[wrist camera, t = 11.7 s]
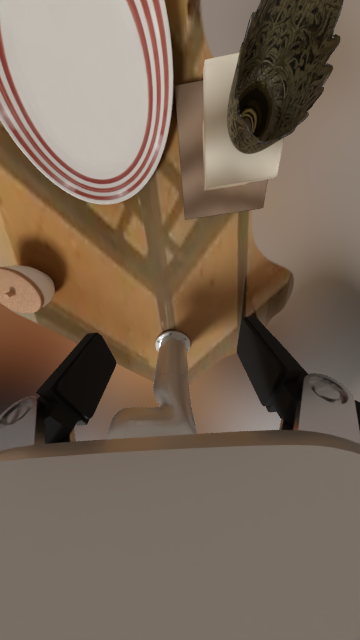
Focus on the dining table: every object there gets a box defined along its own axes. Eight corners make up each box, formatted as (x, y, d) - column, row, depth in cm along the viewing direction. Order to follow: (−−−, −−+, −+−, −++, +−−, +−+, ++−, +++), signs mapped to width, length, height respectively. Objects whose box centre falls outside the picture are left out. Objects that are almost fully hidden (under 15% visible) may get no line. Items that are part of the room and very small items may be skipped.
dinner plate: (114, 237, 32) (108, 238, 29) (-44, 84, 21) (-78, 61, 18) (209, 101, 22) (214, 83, 19) (3, -335, 11) (-57, -529, 8)
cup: (208, 165, 19) (225, 130, 12) (224, 67, 15) (262, -65, 8) (259, 175, 20) (302, 147, 13) (288, 83, 15) (372, -27, 9)
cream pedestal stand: (259, 208, 29) (291, 200, 21) (185, 219, 30) (187, 215, 22) (280, 73, 21) (350, -34, 12) (174, 94, 22) (172, 8, 13)
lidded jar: (14, 283, 37) (-29, 297, 30) (23, 251, 33) (-25, 257, 25) (56, 306, 42) (28, 324, 34) (69, 280, 37) (40, 294, 29)
